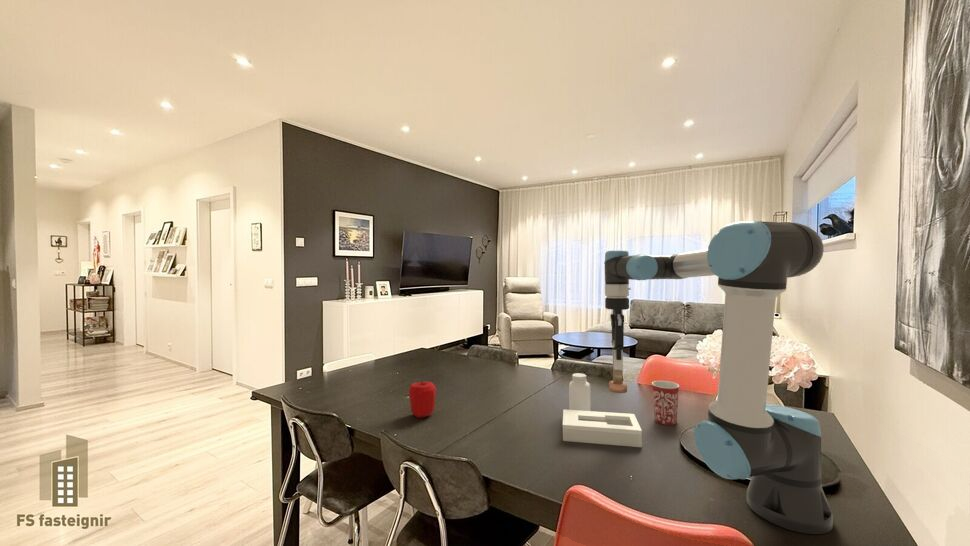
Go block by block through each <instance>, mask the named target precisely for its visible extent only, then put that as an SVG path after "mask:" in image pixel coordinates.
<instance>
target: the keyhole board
mask: <svg viewBox="0 0 970 546" xmlns="http://www.w3.org/2000/svg"><path fill="white" fill-rule="evenodd" d="M562 415H563V416H562V441H563V442H572V443H573V442H574V443H583V444H584V443H586V444H595V445H596V444H597V445H609V446H610V445H611V446H619V447H620V446H623V447H633V448H643V435H642V433H643V430H642V428H641V426H640V424H639V421H638V419H637V417H636V415H635V413H624V412H623V413H622V412H612V411H611V412H608V411H593V410H591V411H580V410H569V409H565V408H564V409H563V412H562Z"/></svg>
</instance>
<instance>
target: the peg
mask: <svg viewBox="0 0 970 546" xmlns="http://www.w3.org/2000/svg"><path fill="white" fill-rule="evenodd" d="M612 348H614V340H613V345H612ZM623 370H624V369H623ZM623 370H615V369H614V350H612V380H610V381H608V387H609V388H608V391H610V392H612V393H614V394H626V393H628V383H627V382H625V381H624V380H623V379H624V372H623Z"/></svg>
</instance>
